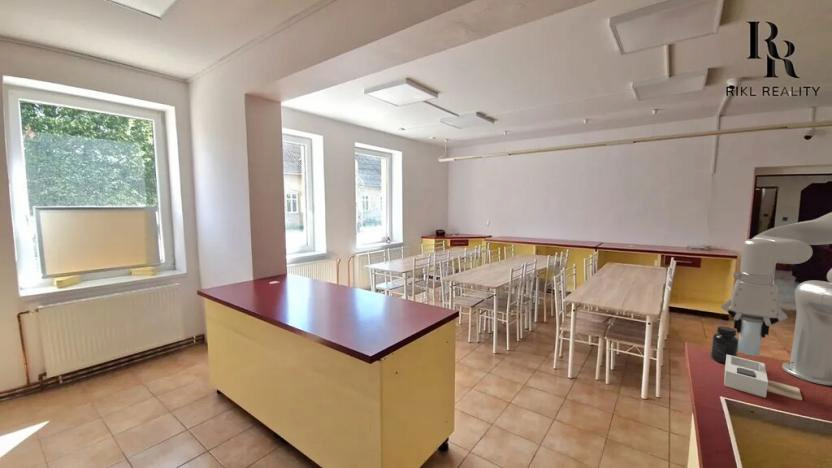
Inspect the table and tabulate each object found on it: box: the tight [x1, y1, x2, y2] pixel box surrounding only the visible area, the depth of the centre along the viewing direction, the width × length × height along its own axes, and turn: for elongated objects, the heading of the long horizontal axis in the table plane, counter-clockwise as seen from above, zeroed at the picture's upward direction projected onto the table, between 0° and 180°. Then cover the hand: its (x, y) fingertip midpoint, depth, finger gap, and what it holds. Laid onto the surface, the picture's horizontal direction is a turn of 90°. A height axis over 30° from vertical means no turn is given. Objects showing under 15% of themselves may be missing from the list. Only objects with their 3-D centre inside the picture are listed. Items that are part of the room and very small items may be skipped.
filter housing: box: [723, 354, 769, 399], centre depth 105 cm, size 14×9×5 cm, turn 136°
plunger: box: [738, 367, 754, 377], centre depth 101 cm, size 3×3×4 cm
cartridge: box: [738, 313, 764, 357], centre depth 105 cm, size 5×5×12 cm
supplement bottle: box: [710, 325, 739, 365], centre depth 117 cm, size 7×7×12 cm
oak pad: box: [767, 379, 803, 401], centre depth 100 cm, size 7×7×1 cm
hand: (750, 333), depth 105 cm, fingers closed on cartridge, 5 cm apart
